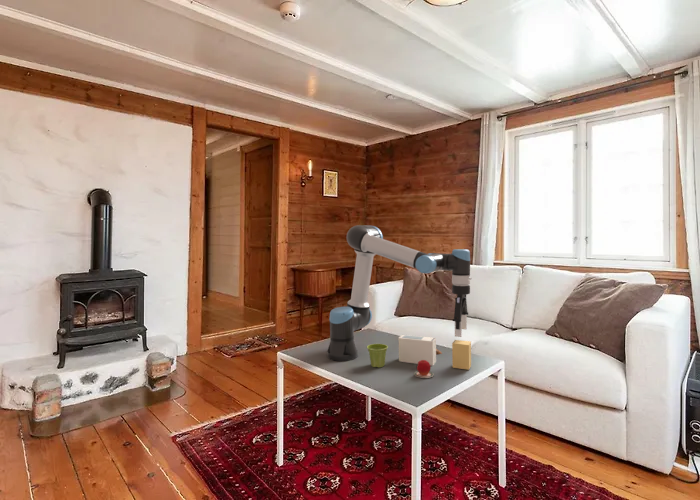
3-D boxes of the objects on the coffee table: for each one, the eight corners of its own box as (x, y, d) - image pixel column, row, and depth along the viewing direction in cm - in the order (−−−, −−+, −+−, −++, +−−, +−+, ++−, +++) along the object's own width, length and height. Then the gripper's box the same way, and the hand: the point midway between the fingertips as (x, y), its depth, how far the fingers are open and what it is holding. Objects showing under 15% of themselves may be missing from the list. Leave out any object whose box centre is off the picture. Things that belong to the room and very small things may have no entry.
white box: (398, 361, 175) (398, 337, 174) (402, 357, 180) (402, 334, 180) (433, 365, 168) (432, 341, 167) (436, 361, 173) (435, 337, 173)
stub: (452, 367, 164) (452, 343, 163) (455, 363, 169) (454, 339, 169) (469, 369, 161) (468, 344, 160) (471, 365, 166) (470, 341, 166)
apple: (421, 380, 151) (421, 364, 151) (410, 373, 159) (410, 358, 158) (437, 376, 155) (437, 361, 154) (426, 370, 162) (425, 355, 162)
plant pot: (374, 370, 163) (373, 350, 163) (363, 364, 172) (363, 345, 171) (392, 366, 167) (391, 347, 167) (381, 360, 176) (380, 342, 176)
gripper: (465, 289, 151) (465, 341, 152) (473, 281, 173) (473, 327, 174) (446, 287, 154) (446, 338, 155) (457, 280, 177) (457, 325, 178)
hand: (460, 332), depth 165 cm, fingers open, 13 cm apart
